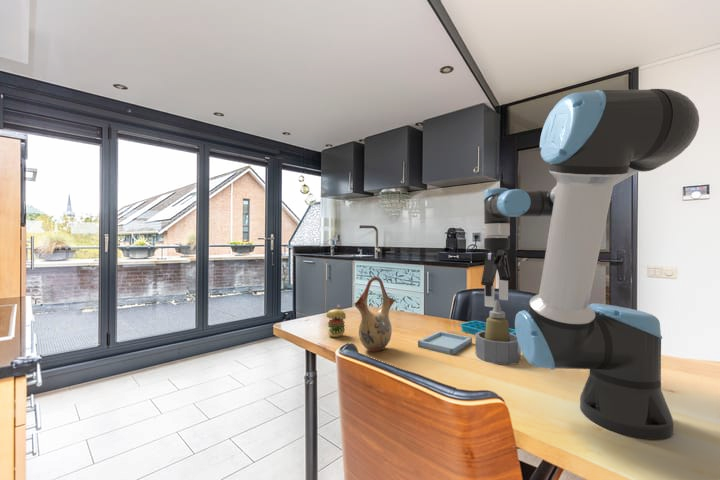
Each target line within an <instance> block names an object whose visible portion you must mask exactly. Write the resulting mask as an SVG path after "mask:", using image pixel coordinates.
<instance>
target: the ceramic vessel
mask: <svg viewBox="0 0 720 480" xmlns="http://www.w3.org/2000/svg"><path fill="white" fill-rule="evenodd" d="M374 281H377V282H378V284H379V285H380V288H381V289H380V290H381V295H382V304H381V306H380V308H379V309H378V310H377V311H375V312H371V311H370V309H369V307H368V297H369V296H368V295H369V292H370V287H371V285H372V282H374ZM395 302H396V299H394V298H391V297H389V296H388V294H387V292H386V289H385V285H384V283H383V281H382V279H381V278H380V277H377V276H374V277H371V278H369V280H368V282H367V284H366V286H365V289H364V291H363V293H362V294H361V296H360V297H359V298H358V300H357V301H355V302H353V303H354V304H353V306H354V307H355V308H356V309H357V310H358V311H359V313H360V314H361V322H360V324H359V327H358V329H359V330H358V336H359V337H358V338H359V340H360V343H361V345H362V346H363V348H365V349H366V350H367V351H369V352H381V351H382V350H384V349H385V348H386V347H387V345H388V344H389V343H390V341H391V337H392V334H393V332H392V331H393V328H392V323H391V320H390V317H389V316H390V315H389V314H390V309H391V308H392V306H393V305H394V304H395Z"/></svg>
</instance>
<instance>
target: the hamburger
mask: <svg viewBox="0 0 720 480" xmlns="http://www.w3.org/2000/svg"><path fill="white" fill-rule="evenodd" d="M336 306H337V308H334V309H330V310H328V311H327V314H326V318H328V322H327V324H328V325H327V327H328V329H327V334H328V336H329V337H332V338H339V337H341V336H343V335H344V333H345V326H346V325H345V321H344V320H346V318H347V317H346V312H344V311H343V310H341V309H340V307H341V305H340V304H337V305H336ZM338 308H339V309H338Z"/></svg>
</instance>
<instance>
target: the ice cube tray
mask: <svg viewBox="0 0 720 480" xmlns="http://www.w3.org/2000/svg"><path fill="white" fill-rule="evenodd" d="M459 327H461V331H462V333H463V332H464V333H467V334H470V335H474V336H475V334H476V333H477V332H479V331H485V330H486V322H484V321H480V320H469V321H466V322H462V323H459ZM509 333H511V334H514V335H516V331H515V328H510V327H509Z"/></svg>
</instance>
